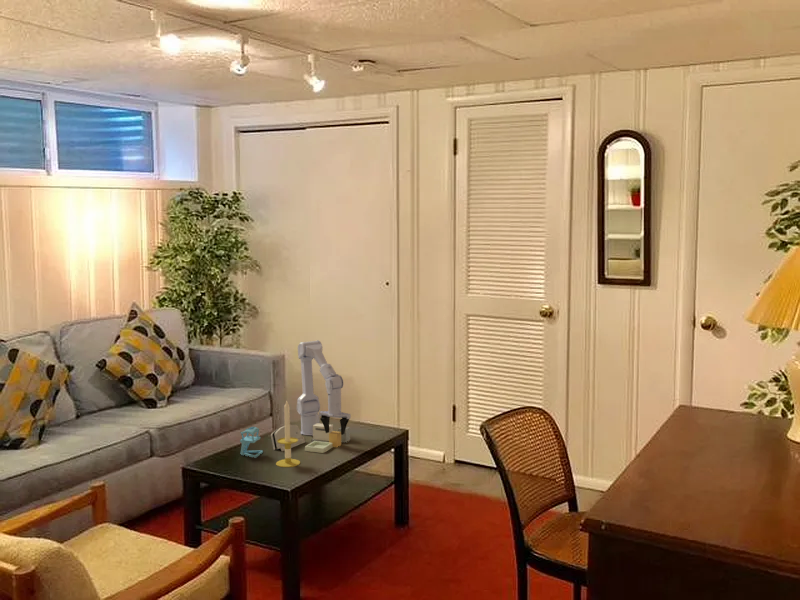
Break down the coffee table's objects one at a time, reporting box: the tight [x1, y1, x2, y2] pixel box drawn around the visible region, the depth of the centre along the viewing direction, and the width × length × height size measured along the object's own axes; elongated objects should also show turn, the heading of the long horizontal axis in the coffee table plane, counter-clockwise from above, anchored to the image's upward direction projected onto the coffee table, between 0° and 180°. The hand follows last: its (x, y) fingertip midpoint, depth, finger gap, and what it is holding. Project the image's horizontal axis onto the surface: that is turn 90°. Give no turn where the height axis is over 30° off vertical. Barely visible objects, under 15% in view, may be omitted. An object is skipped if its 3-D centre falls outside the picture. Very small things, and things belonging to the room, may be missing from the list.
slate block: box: [337, 426, 351, 443], centre depth 357 cm, size 4×4×6 cm
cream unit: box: [310, 422, 334, 443], centre depth 358 cm, size 6×9×7 cm, turn 69°
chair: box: [239, 426, 264, 459], centre depth 338 cm, size 8×8×12 cm
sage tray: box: [304, 441, 334, 454], centre depth 345 cm, size 9×9×2 cm
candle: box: [275, 400, 301, 468], centre depth 325 cm, size 10×10×27 cm
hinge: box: [270, 424, 306, 452], centre depth 351 cm, size 17×5×10 cm, turn 148°
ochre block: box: [329, 430, 342, 448], centre depth 350 cm, size 4×4×6 cm
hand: (335, 433), depth 350 cm, fingers open, 7 cm apart
